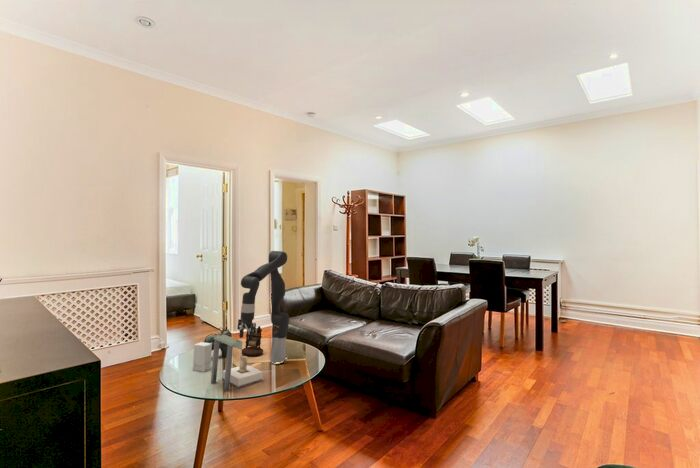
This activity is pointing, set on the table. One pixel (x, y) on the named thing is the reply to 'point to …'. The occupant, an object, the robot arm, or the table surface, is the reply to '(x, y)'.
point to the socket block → (243, 376)
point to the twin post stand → (231, 343)
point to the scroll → (253, 343)
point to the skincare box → (202, 356)
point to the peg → (243, 364)
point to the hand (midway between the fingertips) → (245, 339)
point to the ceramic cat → (221, 345)
